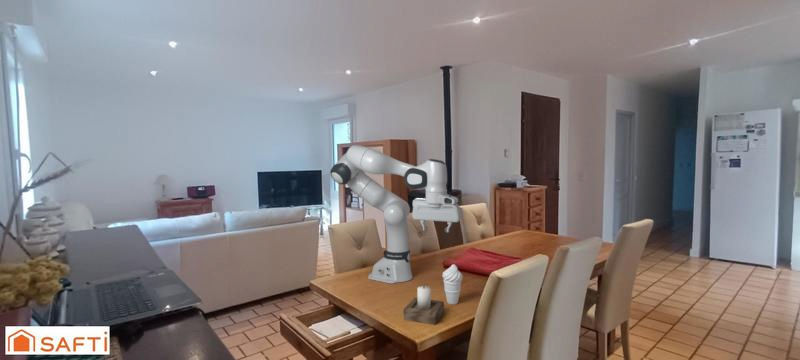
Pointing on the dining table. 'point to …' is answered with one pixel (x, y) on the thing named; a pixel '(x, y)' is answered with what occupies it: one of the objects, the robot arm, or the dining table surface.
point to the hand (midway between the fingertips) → (435, 231)
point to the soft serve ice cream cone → (452, 284)
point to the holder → (424, 312)
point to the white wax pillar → (424, 297)
